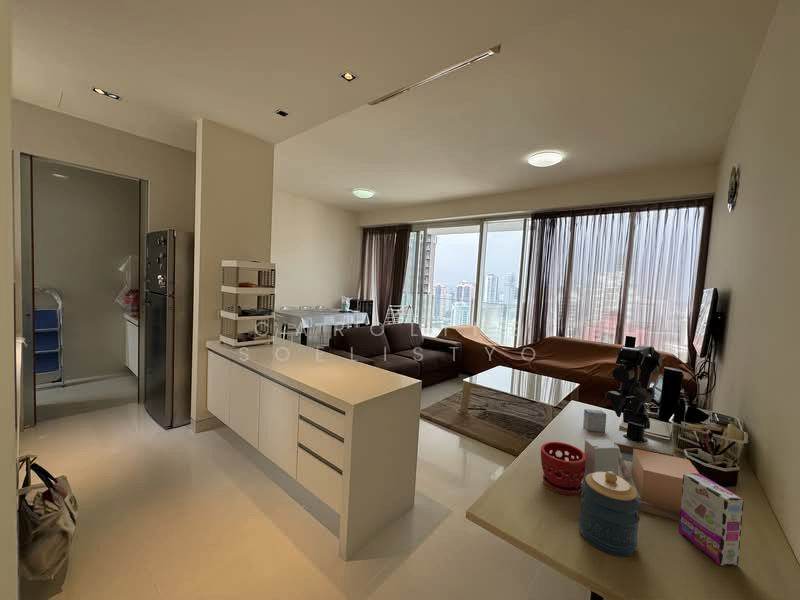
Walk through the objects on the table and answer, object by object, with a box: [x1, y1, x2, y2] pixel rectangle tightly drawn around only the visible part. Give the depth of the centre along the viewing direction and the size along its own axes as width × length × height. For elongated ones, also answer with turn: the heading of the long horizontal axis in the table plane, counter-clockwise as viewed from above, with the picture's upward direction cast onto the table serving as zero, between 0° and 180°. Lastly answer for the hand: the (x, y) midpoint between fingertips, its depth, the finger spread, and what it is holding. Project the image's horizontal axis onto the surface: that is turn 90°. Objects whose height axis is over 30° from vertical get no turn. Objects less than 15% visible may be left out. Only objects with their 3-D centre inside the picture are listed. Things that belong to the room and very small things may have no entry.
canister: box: [578, 471, 641, 558], centre depth 85 cm, size 13×13×18 cm
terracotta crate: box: [630, 448, 700, 511], centre depth 105 cm, size 15×15×10 cm
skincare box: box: [582, 439, 620, 483], centre depth 108 cm, size 8×6×15 cm
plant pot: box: [540, 441, 586, 496], centre depth 107 cm, size 13×13×12 cm
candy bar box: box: [678, 473, 745, 567], centre depth 83 cm, size 11×5×16 cm, turn 5°
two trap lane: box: [613, 442, 680, 522], centre depth 112 cm, size 42×20×3 cm, turn 154°
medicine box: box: [582, 408, 607, 433], centre depth 152 cm, size 8×4×9 cm, turn 84°
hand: (626, 415), depth 136 cm, fingers open, 9 cm apart
